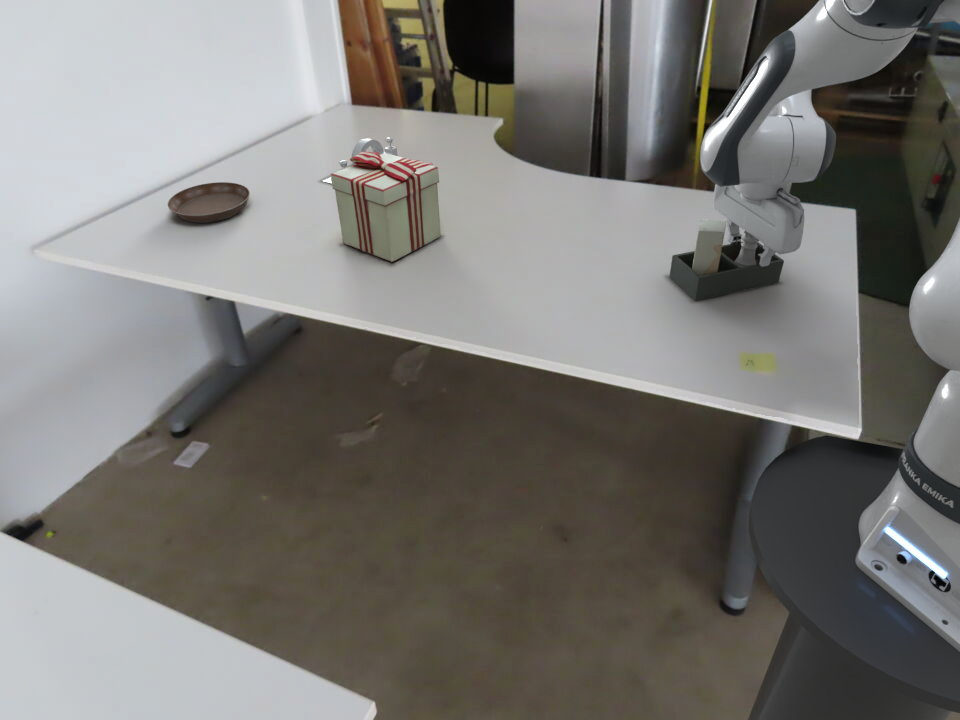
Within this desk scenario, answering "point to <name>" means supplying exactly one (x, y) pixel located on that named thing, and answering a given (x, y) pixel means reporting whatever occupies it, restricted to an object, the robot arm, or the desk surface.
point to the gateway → (362, 147)
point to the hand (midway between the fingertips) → (747, 253)
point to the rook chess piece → (747, 250)
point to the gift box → (387, 204)
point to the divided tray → (724, 273)
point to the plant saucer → (209, 201)
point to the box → (708, 246)
